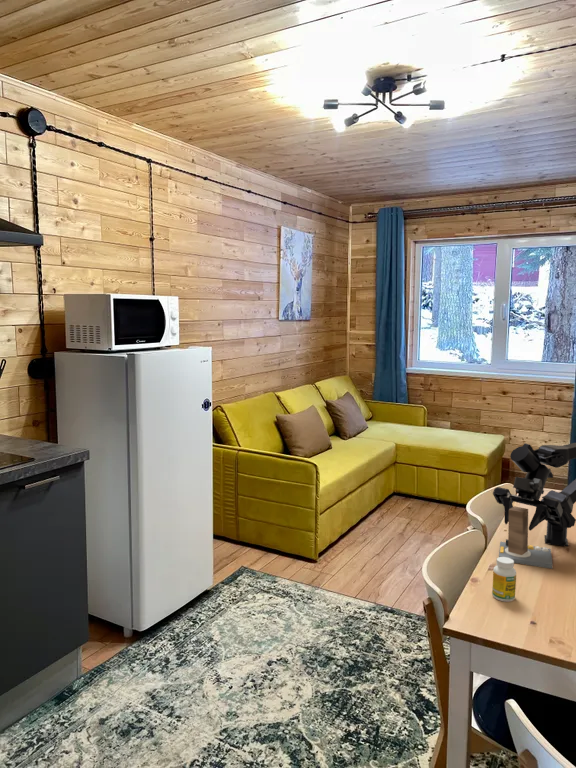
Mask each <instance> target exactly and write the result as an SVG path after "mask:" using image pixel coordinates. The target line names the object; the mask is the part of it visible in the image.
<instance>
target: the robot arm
mask: <svg viewBox="0 0 576 768" xmlns="http://www.w3.org/2000/svg"><path fill="white" fill-rule="evenodd" d="M509 456H510V459H511V461H512V462H513V463H514V465H516V466H517V467H518V468H519V469H520V470H521V472H523V473H526V474H525V477H519V476H515V478H514V482H513V487H512V488H513V489H515V493H516V495H515V494H512V493H511V492H510V489H508V488H504V487H500V486H497V487H494V489H493V491H492V496H493V497H494V499H495V501H496V503H498V504H500V505H502V506H503V509H504V522H503V523H504V525H507V524H509V509H511V508H512V507H514V505H513V503H514V502H515V503H519V504H523V505H527V506H531V507H535V512H534V513H533V517H531V521H530V523H529V524H528V531H532V530H533V529H535V528H536V527H537V526H538V525H539V524H541V523H542V522H543V521H547V522H546V534H545V535H544V536H543V538H544V544H547V545H555V546H560V547H567V548H568V547H569V540H568V529H571V528H572V527H574V526H575V525H576V518H575V517H574V515H573V514H572V513H573V508H574V504H575V503H576V478H575V479H574V480H572V481H571V482H570V483H569V484H568V485H566V486H565V488H563V489H562V490H560V491H559V492H558V491H555V490H553V489H552V490H550V491H548V492H547V493H546V494H545V495H544V496H542V495H543V494H544V493H545V490H544V488H545V485H546V484H547V480H548V479H552V478H554V474H553V472H552V470H551V468H548V466H549V467H552V468H555V469H557V468H558V469H559V468H562V467H563V466H565V465H567V464H568V463H569V461H571V460H574V459H576V442H572V443H568V444H563V445H555V444H544V445H543V444H542V445H541V446H539V447H538V448H537V449H533V446H532V445H531V444H530V443H529V444H528V443H523V445H521V446H518V447H516V448H515V449H513V450H512V451H511V452H510V455H509ZM517 494H518V495H517ZM541 498H542V499H541ZM540 499H541V500H540Z"/></svg>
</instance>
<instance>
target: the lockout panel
mask: <svg viewBox="0 0 576 768" xmlns="http://www.w3.org/2000/svg"><path fill="white" fill-rule="evenodd" d="M552 556H553V555H552V549H551V548H548V547H540V546H538V545H537V546H534V545H532V544H530V545H529V544H528V551H527V552H526V553H524V554H523V555H520V554H516V553H512V552H508V538H506V539H505V541H501V540H500V542H499V551H498V557H507V558H511V559H512V560H514V564H519V563H520V565H525V564H526V565H527V566H532V567H539V568H545V569H552V570H553V558H552Z"/></svg>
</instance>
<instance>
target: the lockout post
mask: <svg viewBox="0 0 576 768" xmlns="http://www.w3.org/2000/svg"><path fill="white" fill-rule="evenodd" d="M507 528H508V534H507V535H508V536H507V537H508V538H507V539H508V552H512V553H516V554H520V555H523V554H524V553H526V552H527V551H528V546H529V541H528V540H529V509H528V508H526V507H525V508H524V507H520V506H515V505H513V507H512V508H511V509H509V522H508V527H507Z"/></svg>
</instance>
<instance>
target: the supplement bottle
mask: <svg viewBox="0 0 576 768" xmlns="http://www.w3.org/2000/svg"><path fill="white" fill-rule="evenodd" d="M514 566H515V563H514V560H512V559H511V558H507V557H499V556H498V557H496V565H494V567H493V571H492V587H491V588H492V591H491V594H492V596H493V598H494V599H496V600H498V601H500V602H505V603H507V602H509V603H510V602H512V601H514V600H516V599H515V598H516V586H517V570H516V569H515V568H514Z"/></svg>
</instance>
